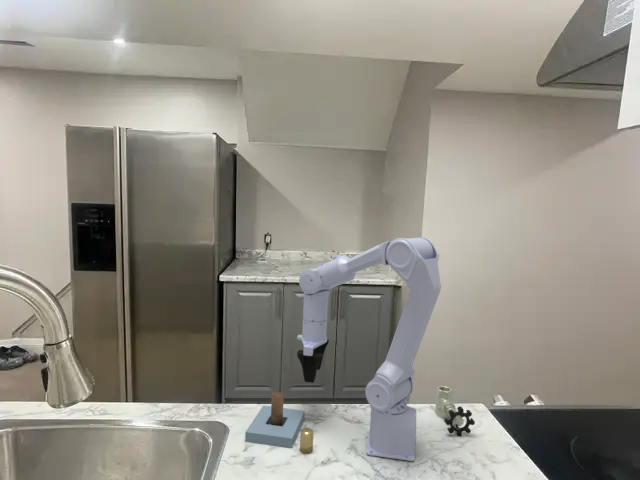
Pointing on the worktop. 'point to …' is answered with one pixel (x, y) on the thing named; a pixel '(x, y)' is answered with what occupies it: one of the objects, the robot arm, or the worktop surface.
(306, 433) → the brass pin
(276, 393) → the walnut pin
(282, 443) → the hole plate
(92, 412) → the worktop surface
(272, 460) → the worktop surface
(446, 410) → the valve
